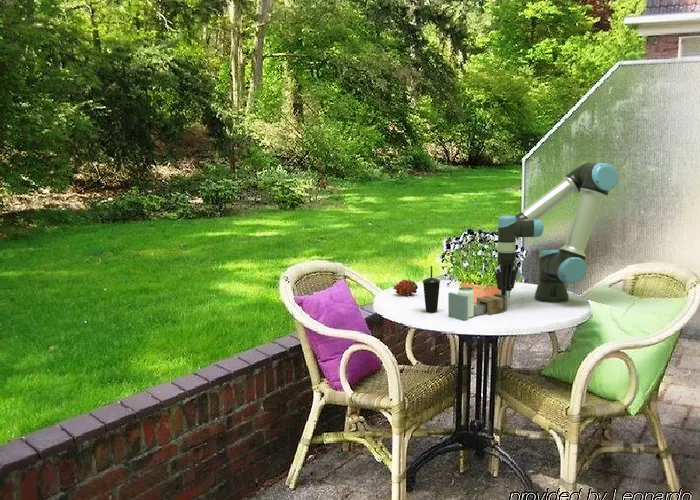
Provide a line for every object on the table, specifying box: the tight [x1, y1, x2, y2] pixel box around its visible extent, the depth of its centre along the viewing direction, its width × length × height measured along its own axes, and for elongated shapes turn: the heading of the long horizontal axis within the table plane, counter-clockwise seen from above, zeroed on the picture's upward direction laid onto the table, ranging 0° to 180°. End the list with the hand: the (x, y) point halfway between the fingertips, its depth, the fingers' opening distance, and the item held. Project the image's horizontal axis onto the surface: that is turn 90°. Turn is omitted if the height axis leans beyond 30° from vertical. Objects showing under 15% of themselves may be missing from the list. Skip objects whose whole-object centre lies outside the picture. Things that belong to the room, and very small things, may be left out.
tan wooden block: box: [476, 295, 504, 316], centre depth 299 cm, size 8×8×6 cm
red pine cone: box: [392, 279, 419, 297], centre depth 338 cm, size 8×8×12 cm
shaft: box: [474, 292, 508, 316], centre depth 298 cm, size 18×6×7 cm, turn 123°
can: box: [457, 286, 475, 319], centre depth 291 cm, size 6×6×12 cm
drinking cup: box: [422, 265, 441, 314], centre depth 301 cm, size 8×8×20 cm
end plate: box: [447, 291, 469, 322], centre depth 289 cm, size 2×10×10 cm, turn 33°
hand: (505, 305), depth 305 cm, fingers closed
